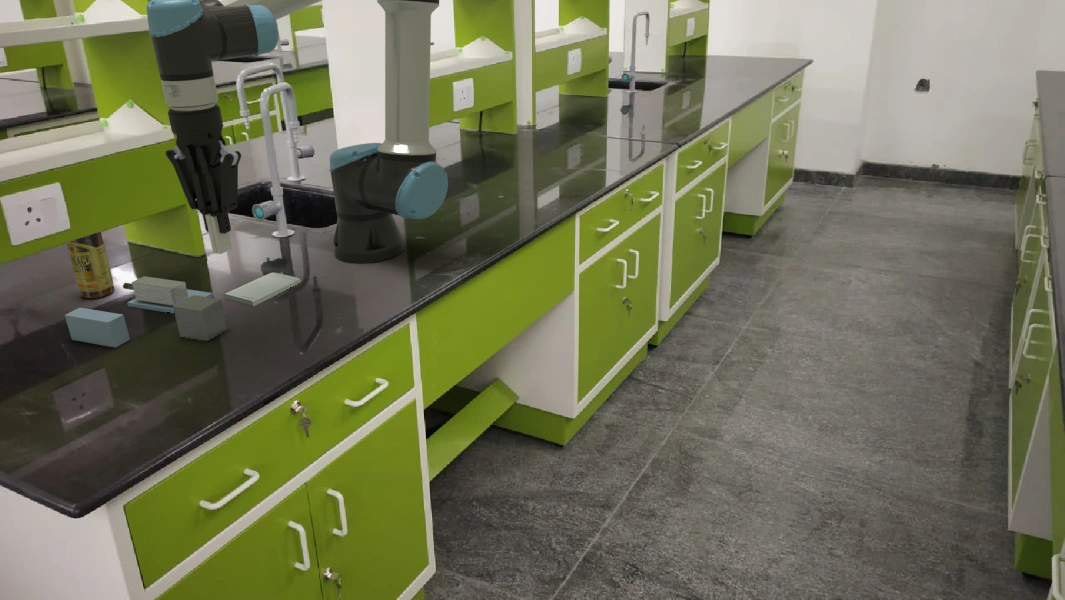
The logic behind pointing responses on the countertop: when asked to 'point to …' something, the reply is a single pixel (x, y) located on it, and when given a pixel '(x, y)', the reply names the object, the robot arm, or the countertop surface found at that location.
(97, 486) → the countertop surface
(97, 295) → the sauce bottle
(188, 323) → the steel block
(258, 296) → the hard drive
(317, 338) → the countertop surface
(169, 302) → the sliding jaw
